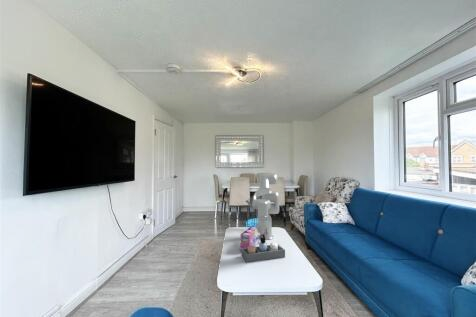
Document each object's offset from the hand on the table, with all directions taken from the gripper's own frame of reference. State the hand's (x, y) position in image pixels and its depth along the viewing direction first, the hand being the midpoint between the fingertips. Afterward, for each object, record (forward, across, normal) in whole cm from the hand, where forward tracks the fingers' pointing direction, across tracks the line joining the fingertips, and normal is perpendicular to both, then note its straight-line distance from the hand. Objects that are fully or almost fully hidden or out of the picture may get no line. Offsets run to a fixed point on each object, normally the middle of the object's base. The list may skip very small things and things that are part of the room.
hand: (262, 242), depth 165 cm
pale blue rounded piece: (+7, 0, 0) cm, 7 cm away
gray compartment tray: (+10, 0, 0) cm, 10 cm away
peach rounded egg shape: (+8, 0, -9) cm, 12 cm away
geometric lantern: (+10, -62, +18) cm, 66 cm away
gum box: (+10, -21, -2) cm, 23 cm away
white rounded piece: (+8, 0, +9) cm, 12 cm away
